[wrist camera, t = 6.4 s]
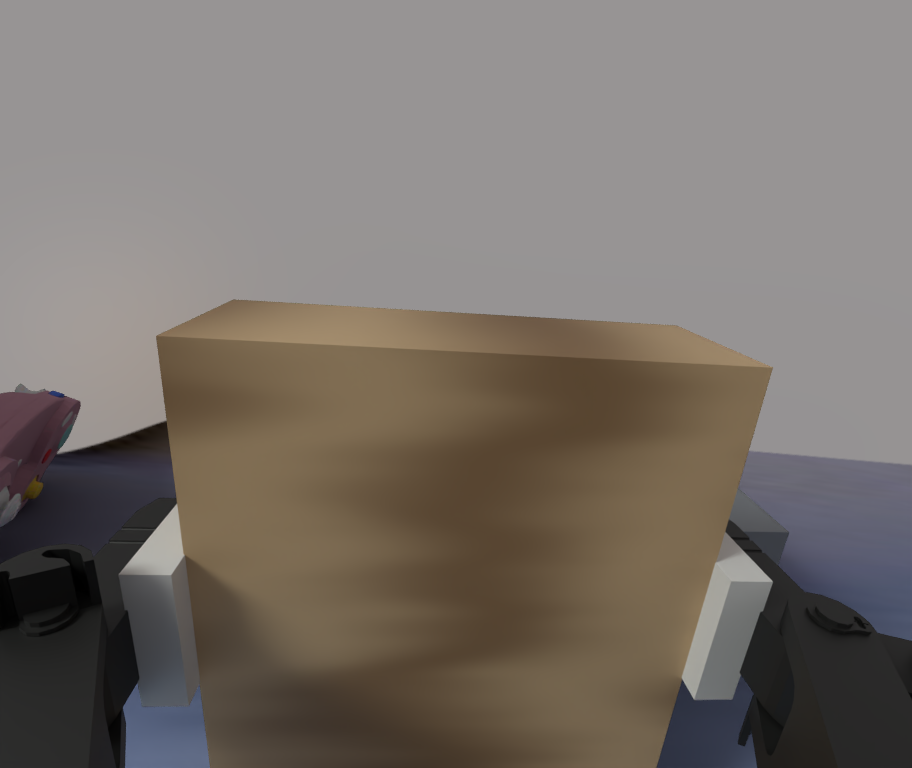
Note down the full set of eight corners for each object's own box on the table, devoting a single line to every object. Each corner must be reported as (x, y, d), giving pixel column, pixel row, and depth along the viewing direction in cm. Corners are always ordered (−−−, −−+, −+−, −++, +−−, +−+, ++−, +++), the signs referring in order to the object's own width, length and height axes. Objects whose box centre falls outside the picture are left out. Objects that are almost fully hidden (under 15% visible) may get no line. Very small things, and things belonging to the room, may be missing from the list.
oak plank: (224, 881, 11) (155, 335, 7) (265, 740, 13) (233, 299, 10) (628, 863, 11) (773, 368, 8) (586, 734, 14) (676, 325, 10)
